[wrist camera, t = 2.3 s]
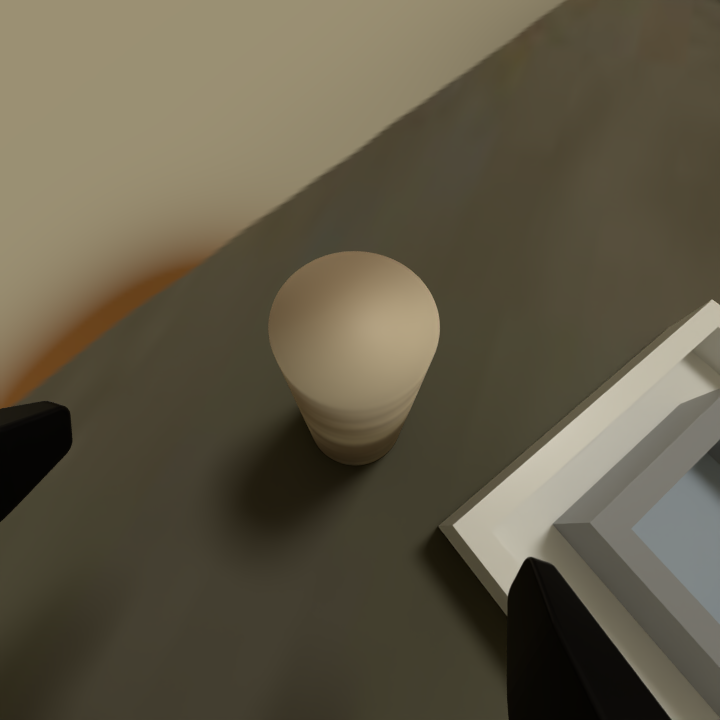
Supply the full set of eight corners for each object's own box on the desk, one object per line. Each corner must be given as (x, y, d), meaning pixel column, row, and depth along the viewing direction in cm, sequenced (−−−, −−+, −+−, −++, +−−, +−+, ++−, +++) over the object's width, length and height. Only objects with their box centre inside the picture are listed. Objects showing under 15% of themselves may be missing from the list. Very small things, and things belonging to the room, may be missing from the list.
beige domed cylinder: (420, 427, 20) (475, 337, 11) (345, 485, 19) (335, 441, 10) (364, 359, 21) (369, 226, 12) (291, 409, 20) (236, 306, 11)
